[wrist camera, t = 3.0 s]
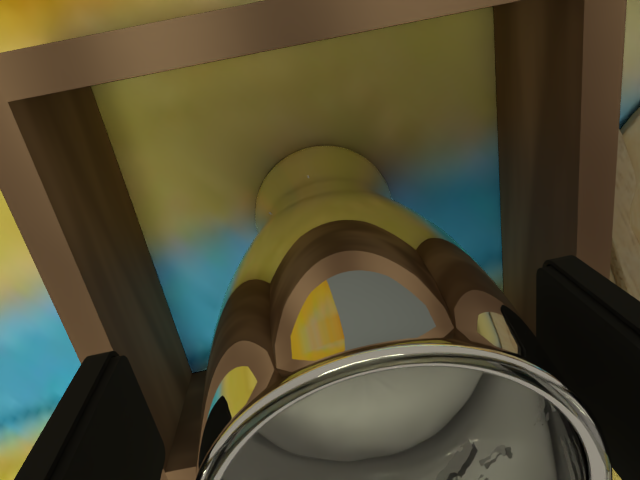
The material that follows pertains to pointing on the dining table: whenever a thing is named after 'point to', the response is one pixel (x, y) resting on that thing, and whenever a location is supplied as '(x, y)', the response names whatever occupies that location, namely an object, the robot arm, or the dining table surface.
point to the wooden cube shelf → (263, 35)
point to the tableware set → (627, 210)
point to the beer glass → (377, 350)
